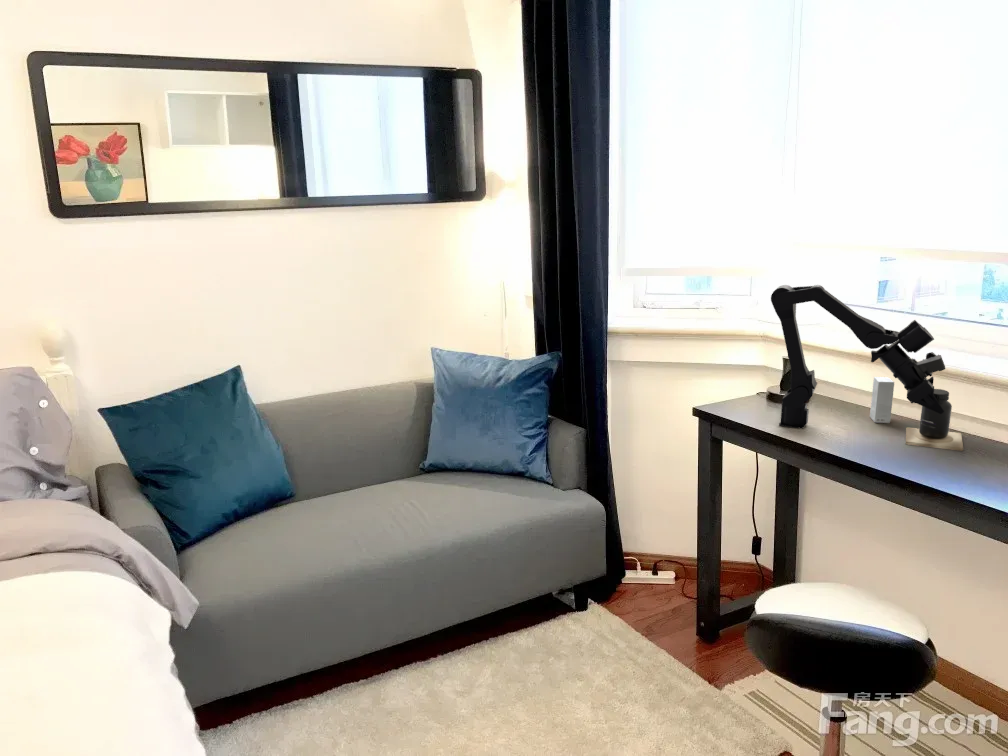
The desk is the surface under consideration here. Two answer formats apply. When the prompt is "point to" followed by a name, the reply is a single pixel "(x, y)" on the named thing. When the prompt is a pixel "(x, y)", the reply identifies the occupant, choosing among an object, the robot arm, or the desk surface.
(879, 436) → the desk surface
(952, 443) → the birch coaster
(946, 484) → the desk surface
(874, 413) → the skincare box
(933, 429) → the supplement bottle
